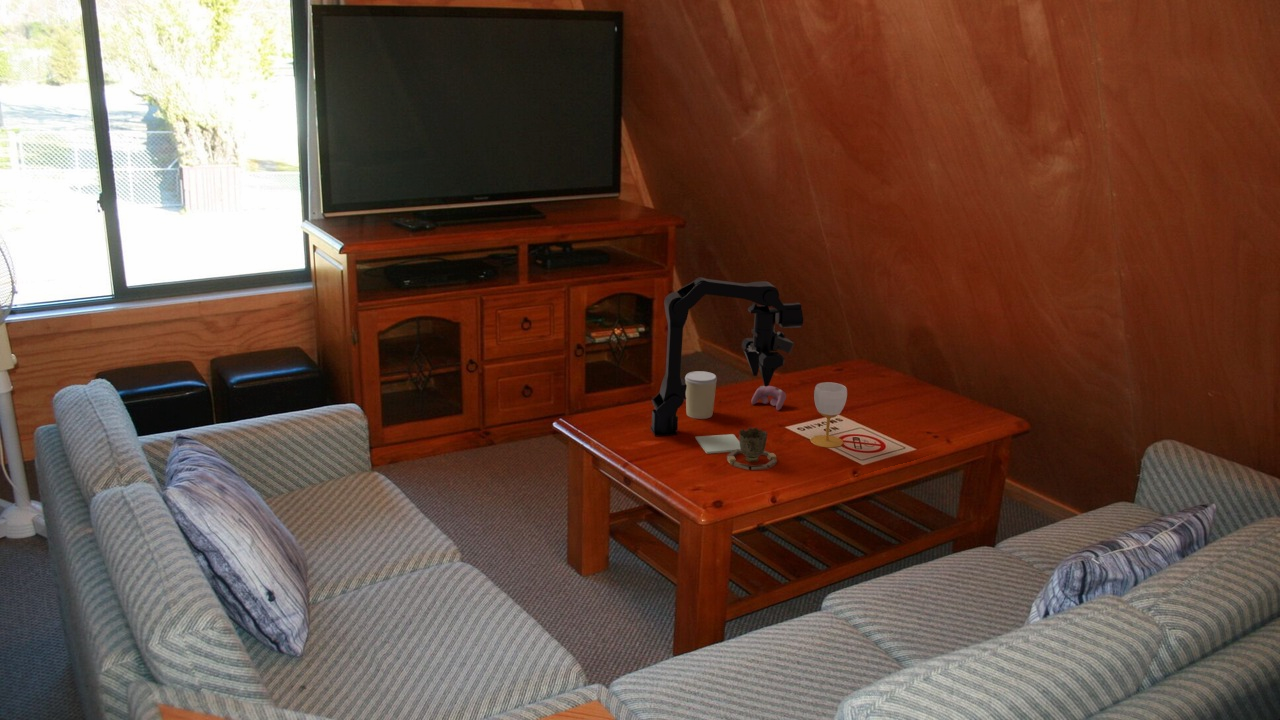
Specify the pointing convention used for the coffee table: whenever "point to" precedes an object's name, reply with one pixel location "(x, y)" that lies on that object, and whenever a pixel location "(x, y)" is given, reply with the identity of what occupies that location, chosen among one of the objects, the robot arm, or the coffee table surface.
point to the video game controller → (769, 391)
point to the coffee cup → (700, 394)
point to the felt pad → (718, 443)
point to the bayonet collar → (732, 461)
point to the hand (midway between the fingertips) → (760, 380)
